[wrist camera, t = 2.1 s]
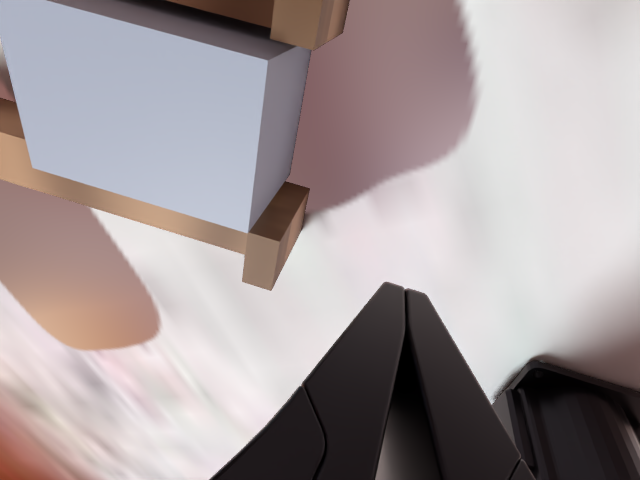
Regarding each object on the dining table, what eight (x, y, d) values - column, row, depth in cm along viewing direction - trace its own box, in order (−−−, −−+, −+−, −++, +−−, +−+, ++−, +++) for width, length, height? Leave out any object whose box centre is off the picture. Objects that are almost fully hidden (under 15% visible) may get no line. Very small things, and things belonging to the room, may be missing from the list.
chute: (360, -51, 12) (333, -64, 9) (300, 232, 19) (271, 290, 15) (-138, -174, 14) (-338, -229, 10) (-36, 130, 20) (-136, 163, 16)
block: (313, 37, 14) (267, 60, 10) (290, 174, 17) (248, 233, 13) (108, -17, 15) (-14, -16, 11) (122, 125, 18) (32, 168, 14)
